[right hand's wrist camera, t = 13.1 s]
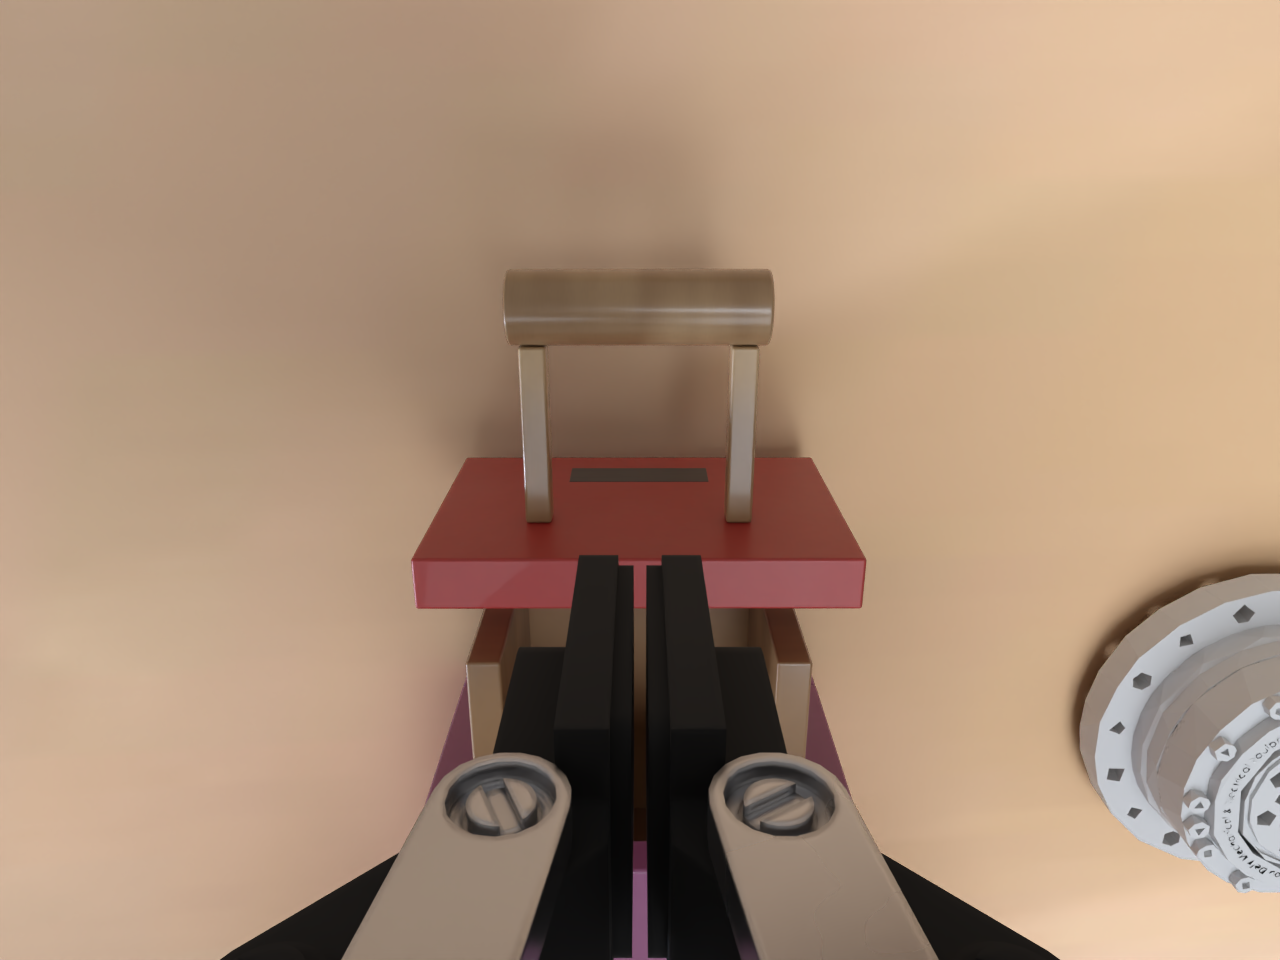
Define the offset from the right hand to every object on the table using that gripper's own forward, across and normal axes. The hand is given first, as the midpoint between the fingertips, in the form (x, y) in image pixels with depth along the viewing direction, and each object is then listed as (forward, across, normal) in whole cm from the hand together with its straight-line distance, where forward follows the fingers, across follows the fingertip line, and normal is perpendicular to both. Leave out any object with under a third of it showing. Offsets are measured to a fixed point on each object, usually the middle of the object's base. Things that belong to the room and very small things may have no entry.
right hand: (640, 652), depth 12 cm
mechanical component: (+14, +19, -10) cm, 26 cm away
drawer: (+13, 0, -5) cm, 14 cm away
